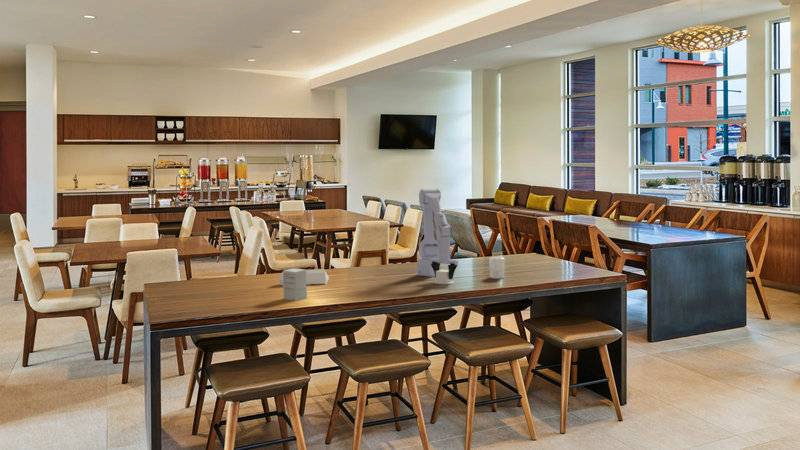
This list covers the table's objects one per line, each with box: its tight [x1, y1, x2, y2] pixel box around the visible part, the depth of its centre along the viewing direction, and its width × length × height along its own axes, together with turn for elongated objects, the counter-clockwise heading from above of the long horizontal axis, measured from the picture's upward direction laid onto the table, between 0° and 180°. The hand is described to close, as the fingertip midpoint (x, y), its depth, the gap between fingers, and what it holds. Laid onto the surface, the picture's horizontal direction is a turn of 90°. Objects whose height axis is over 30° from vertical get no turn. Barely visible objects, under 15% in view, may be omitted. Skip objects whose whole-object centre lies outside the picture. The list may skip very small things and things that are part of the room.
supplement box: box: [282, 267, 308, 302], centre depth 312 cm, size 7×7×13 cm
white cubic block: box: [435, 269, 453, 283], centre depth 348 cm, size 6×6×6 cm
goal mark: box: [433, 280, 455, 285], centre depth 348 cm, size 10×10×1 cm
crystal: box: [278, 268, 330, 286], centre depth 347 cm, size 7×7×24 cm
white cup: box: [488, 256, 506, 280], centre depth 359 cm, size 8×8×10 cm
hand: (444, 278), depth 348 cm, fingers open, 7 cm apart
